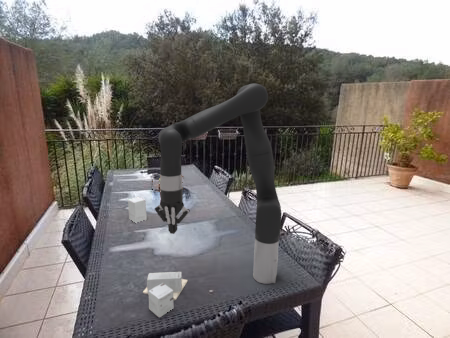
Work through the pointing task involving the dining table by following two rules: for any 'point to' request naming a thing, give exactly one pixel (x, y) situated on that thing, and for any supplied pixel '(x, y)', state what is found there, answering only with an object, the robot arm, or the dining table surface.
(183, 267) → the dining table surface
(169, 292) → the skincare box
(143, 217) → the supplement box
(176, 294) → the mat
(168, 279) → the skincare box
